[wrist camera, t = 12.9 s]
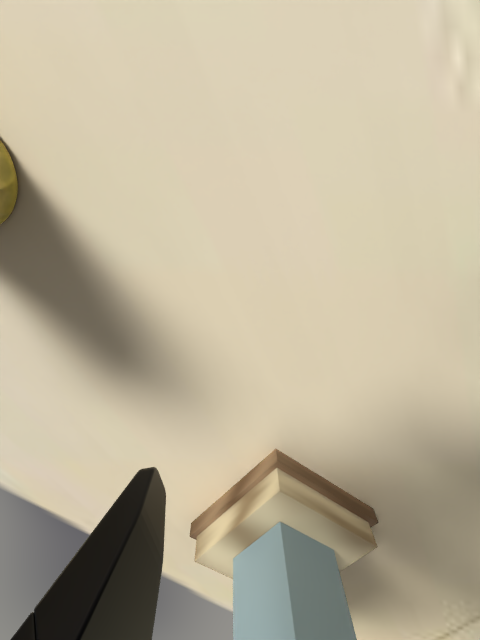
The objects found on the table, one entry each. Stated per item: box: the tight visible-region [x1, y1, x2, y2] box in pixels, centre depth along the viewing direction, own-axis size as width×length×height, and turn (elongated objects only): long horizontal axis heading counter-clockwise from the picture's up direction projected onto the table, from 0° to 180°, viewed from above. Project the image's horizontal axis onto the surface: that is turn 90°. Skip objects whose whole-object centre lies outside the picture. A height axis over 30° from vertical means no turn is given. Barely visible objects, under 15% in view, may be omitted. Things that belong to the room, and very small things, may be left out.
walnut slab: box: [190, 449, 378, 540], centre depth 30 cm, size 11×11×2 cm
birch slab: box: [195, 468, 377, 579], centre depth 28 cm, size 10×10×2 cm
